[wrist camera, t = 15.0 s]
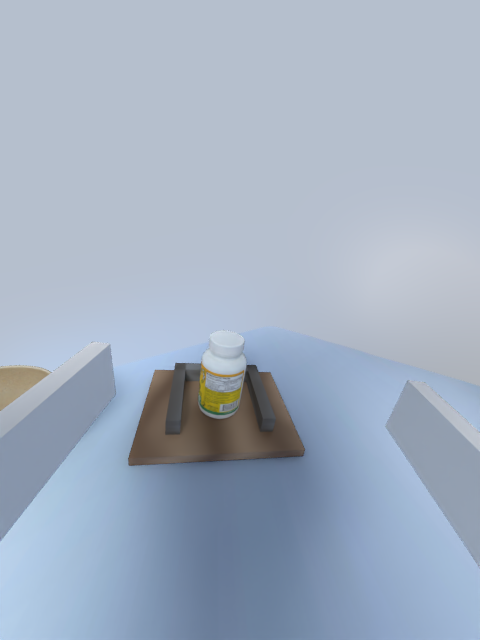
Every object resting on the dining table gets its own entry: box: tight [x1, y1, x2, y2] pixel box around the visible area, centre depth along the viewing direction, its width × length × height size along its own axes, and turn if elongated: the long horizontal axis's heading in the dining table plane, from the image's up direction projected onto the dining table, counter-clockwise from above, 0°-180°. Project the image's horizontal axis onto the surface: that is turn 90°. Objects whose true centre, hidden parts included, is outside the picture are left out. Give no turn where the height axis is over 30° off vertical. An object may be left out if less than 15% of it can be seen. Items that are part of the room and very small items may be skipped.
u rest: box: [128, 363, 305, 466], centre depth 30 cm, size 18×14×3 cm
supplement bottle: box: [198, 331, 247, 419], centre depth 28 cm, size 5×5×10 cm
